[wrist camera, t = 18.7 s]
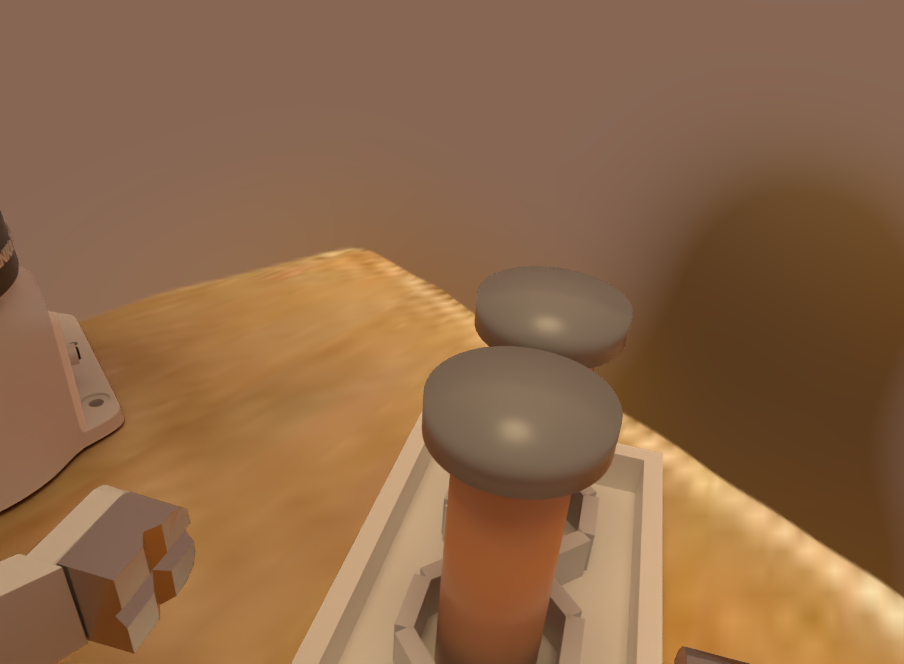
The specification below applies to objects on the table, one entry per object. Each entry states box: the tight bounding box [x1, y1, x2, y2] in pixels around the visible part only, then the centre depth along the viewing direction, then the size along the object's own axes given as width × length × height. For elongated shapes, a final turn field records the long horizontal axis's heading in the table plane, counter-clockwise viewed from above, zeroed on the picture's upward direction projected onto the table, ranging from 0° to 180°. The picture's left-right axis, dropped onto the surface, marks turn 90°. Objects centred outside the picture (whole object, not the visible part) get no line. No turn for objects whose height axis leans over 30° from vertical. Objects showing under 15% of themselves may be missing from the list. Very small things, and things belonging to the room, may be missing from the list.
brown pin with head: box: [422, 346, 623, 664], centre depth 26 cm, size 7×7×14 cm
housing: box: [291, 410, 662, 664], centre depth 33 cm, size 20×14×4 cm
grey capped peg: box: [475, 266, 633, 371], centre depth 33 cm, size 7×7×14 cm
